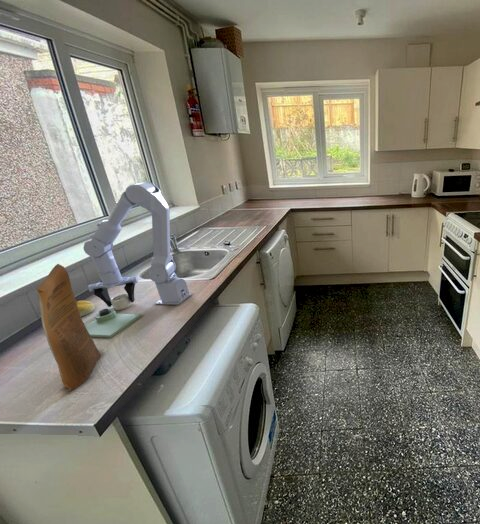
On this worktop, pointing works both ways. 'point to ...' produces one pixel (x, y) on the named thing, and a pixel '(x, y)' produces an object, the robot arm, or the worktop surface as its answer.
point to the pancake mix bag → (66, 329)
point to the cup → (120, 301)
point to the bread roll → (85, 307)
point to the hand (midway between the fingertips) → (121, 303)
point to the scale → (110, 324)
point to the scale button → (104, 312)
